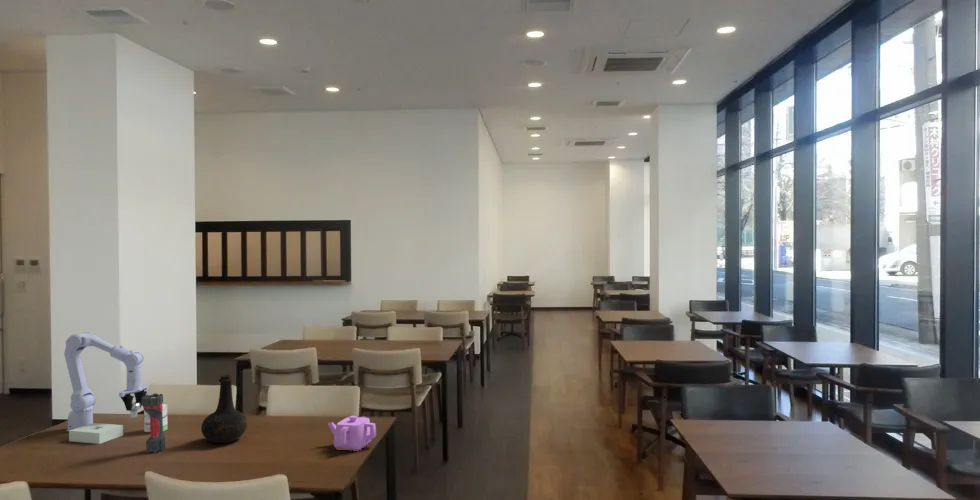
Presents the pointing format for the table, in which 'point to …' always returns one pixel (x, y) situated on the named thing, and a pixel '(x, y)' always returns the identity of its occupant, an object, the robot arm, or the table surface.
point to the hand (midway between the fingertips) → (133, 408)
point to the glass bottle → (224, 417)
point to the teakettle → (353, 432)
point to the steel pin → (134, 409)
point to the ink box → (147, 419)
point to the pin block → (96, 433)
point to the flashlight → (154, 422)
